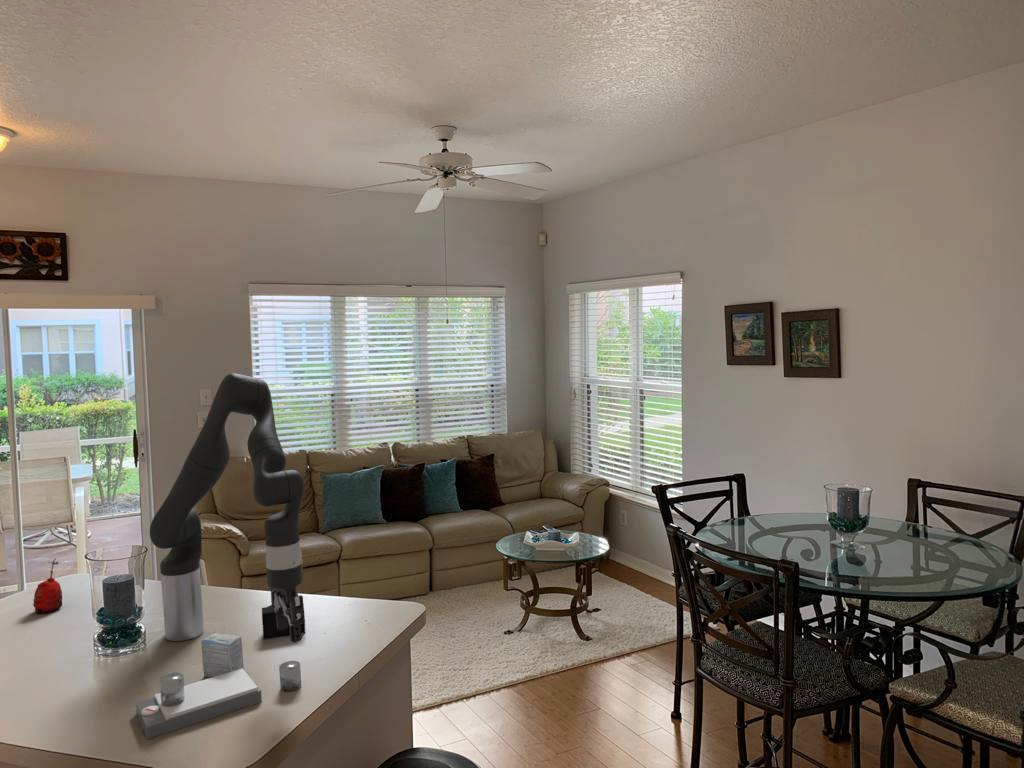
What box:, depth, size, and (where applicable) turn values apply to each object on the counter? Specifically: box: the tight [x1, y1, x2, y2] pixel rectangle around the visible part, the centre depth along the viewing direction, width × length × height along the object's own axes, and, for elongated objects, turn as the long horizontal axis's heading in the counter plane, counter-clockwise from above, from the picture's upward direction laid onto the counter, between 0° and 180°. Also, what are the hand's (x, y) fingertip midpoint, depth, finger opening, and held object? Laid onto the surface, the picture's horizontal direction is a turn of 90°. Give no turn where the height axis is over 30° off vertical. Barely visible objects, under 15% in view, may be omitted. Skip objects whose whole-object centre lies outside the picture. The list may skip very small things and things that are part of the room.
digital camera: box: [261, 604, 306, 641], centre depth 188 cm, size 10×5×7 cm, turn 109°
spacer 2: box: [278, 660, 302, 693], centre depth 159 cm, size 4×4×5 cm
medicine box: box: [200, 632, 245, 678], centre depth 166 cm, size 8×4×9 cm, turn 71°
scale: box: [135, 668, 263, 740], centre depth 152 cm, size 12×22×3 cm, turn 126°
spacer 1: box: [159, 671, 185, 707], centre depth 148 cm, size 4×4×5 cm
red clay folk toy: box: [32, 558, 63, 615], centre depth 209 cm, size 8×7×15 cm
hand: (289, 634), depth 158 cm, fingers open, 8 cm apart
